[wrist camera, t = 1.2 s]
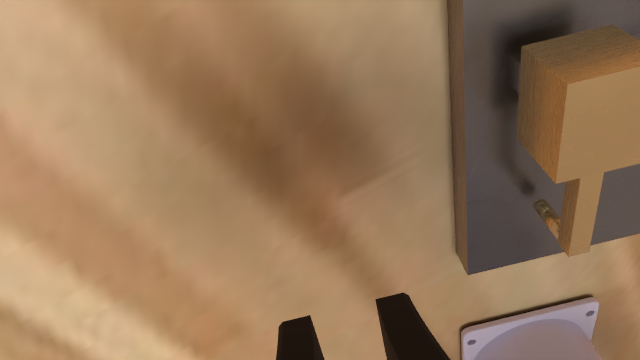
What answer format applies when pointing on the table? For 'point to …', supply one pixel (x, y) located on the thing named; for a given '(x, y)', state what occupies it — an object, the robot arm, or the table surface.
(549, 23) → the plate
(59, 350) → the table surface
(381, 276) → the table surface
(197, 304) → the table surface
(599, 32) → the brass slider
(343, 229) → the table surface
